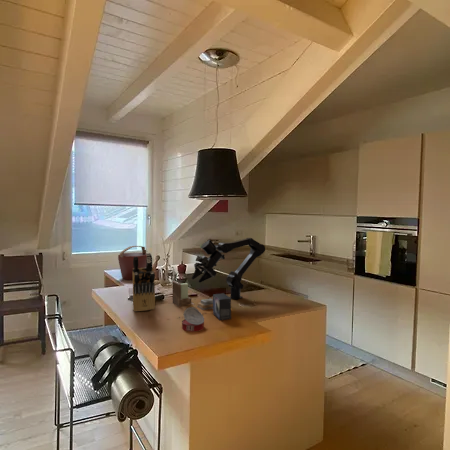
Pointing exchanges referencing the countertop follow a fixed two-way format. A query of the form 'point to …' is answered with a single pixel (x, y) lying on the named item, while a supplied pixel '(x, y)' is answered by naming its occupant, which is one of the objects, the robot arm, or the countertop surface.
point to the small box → (222, 306)
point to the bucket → (131, 262)
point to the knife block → (143, 285)
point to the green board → (184, 291)
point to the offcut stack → (205, 304)
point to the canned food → (192, 320)
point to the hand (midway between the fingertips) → (195, 280)
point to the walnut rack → (177, 295)
